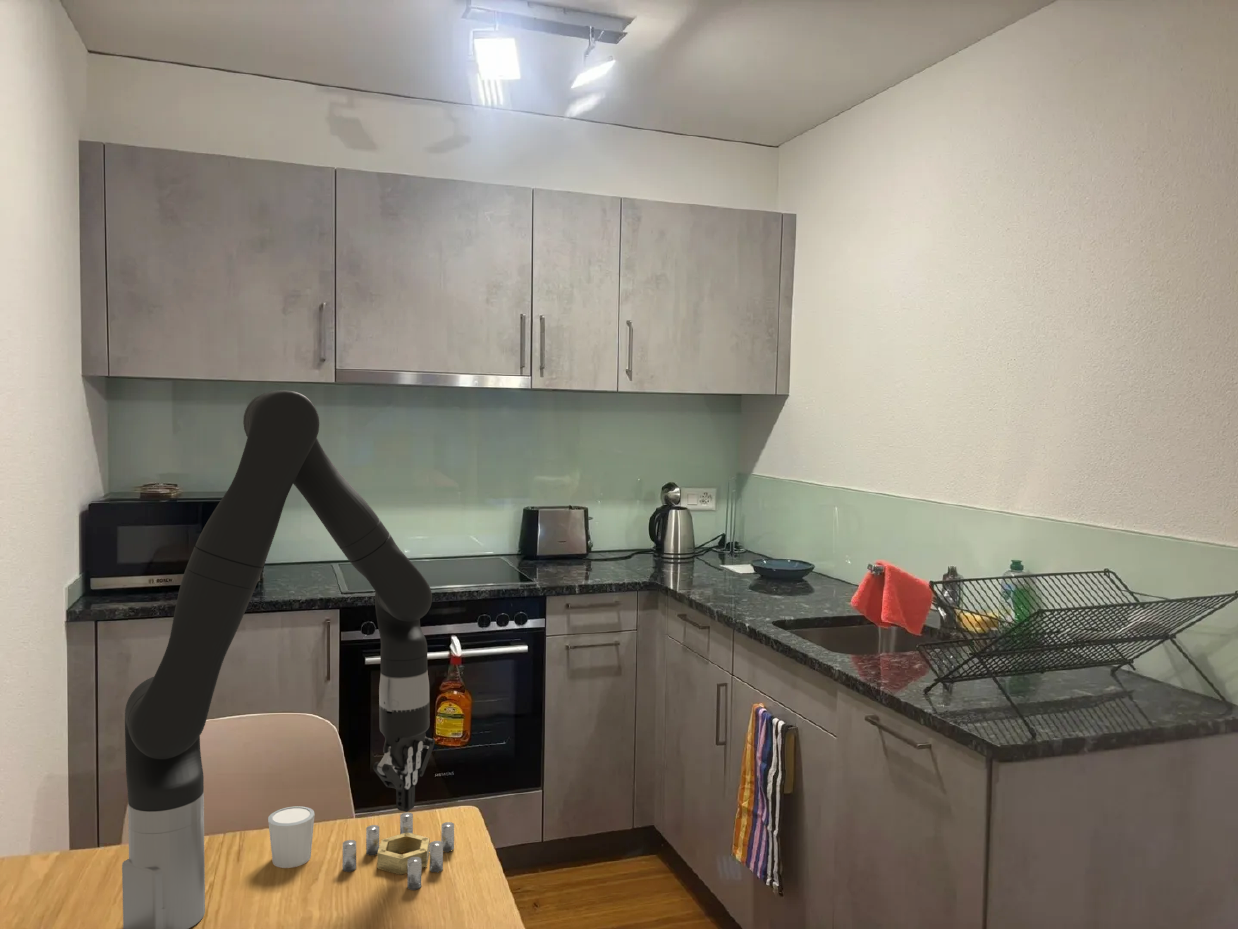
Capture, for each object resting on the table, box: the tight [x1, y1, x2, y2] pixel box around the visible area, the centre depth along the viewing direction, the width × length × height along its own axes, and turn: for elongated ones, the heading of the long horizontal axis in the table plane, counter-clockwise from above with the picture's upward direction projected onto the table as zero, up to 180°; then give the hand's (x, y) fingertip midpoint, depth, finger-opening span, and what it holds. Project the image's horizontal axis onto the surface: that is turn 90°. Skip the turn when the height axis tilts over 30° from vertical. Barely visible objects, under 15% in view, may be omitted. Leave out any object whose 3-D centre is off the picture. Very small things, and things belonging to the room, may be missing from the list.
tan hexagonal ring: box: [376, 832, 431, 876], centre depth 142 cm, size 7×9×2 cm
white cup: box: [267, 805, 316, 869], centre depth 142 cm, size 7×7×7 cm
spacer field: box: [342, 811, 455, 891], centre depth 142 cm, size 14×14×4 cm
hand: (405, 809), depth 142 cm, fingers closed
